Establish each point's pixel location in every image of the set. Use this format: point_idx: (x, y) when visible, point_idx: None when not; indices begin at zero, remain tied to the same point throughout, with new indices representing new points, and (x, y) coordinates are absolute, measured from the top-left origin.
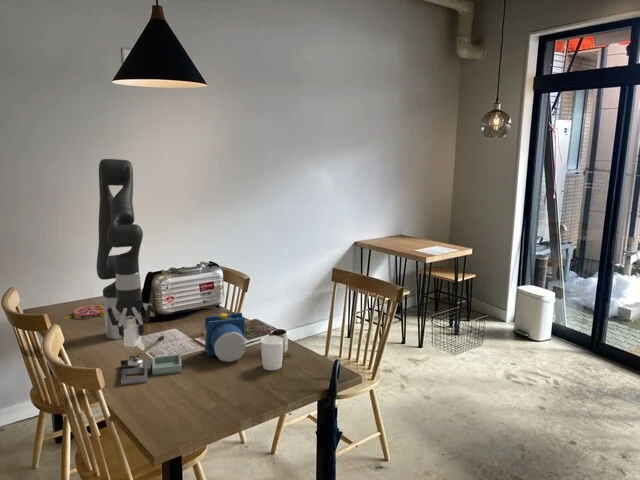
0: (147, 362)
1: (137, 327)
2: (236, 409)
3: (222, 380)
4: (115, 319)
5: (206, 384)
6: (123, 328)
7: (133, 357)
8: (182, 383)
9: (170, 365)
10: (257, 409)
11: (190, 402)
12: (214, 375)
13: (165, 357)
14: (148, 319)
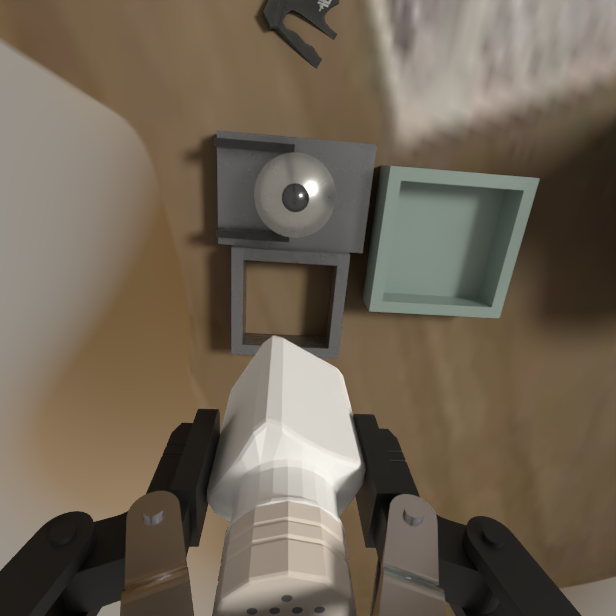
0: (355, 178)
1: (347, 505)
2: (539, 561)
3: (586, 414)
4: (66, 578)
5: (526, 424)
6: (206, 462)
7: (286, 188)
8: (455, 394)
9: (454, 237)
10: (583, 571)
11: (442, 506)
12: (580, 371)
13: (454, 184)
14: (494, 614)
